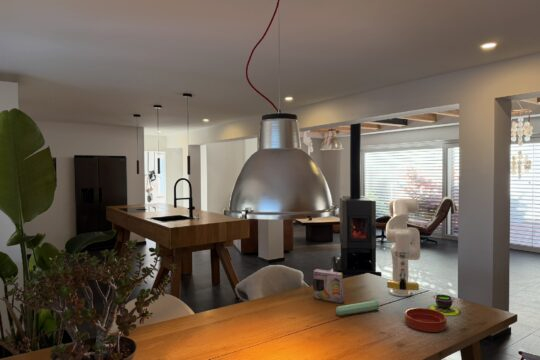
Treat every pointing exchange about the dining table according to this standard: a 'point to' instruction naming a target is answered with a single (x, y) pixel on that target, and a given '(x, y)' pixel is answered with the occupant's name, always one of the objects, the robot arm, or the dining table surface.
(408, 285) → the banana
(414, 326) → the bowl
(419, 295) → the dining table surface
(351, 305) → the pale green faceted rod
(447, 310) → the toy cauldron
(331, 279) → the cake pan box
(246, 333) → the dining table surface
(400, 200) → the robot arm
